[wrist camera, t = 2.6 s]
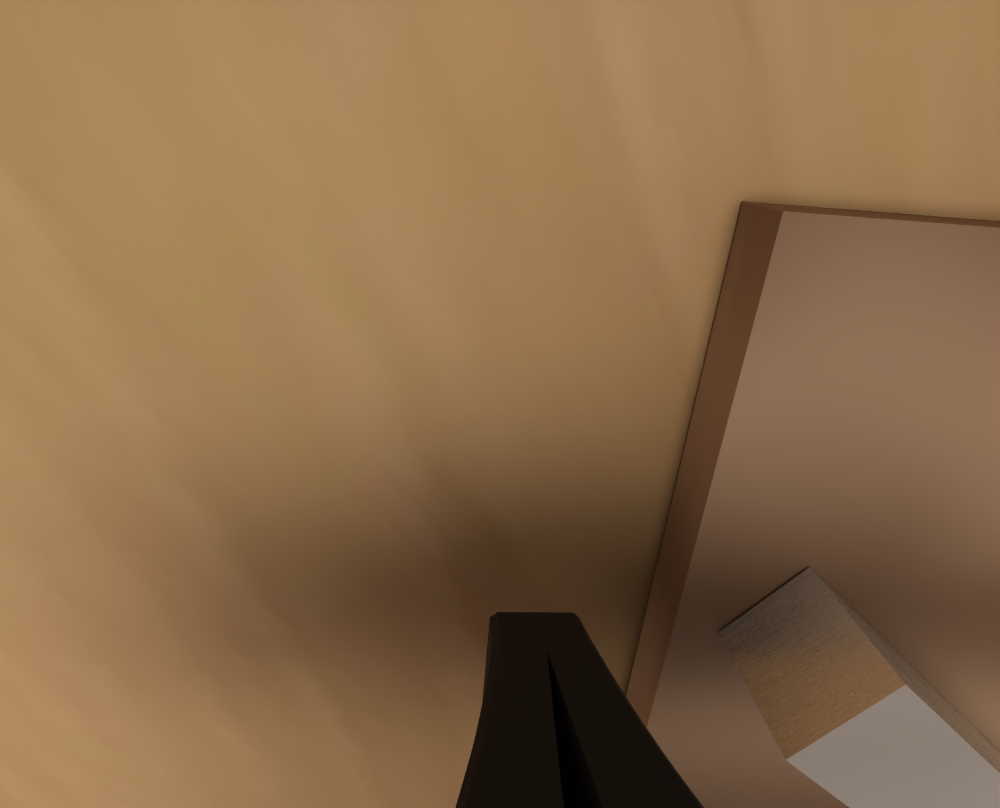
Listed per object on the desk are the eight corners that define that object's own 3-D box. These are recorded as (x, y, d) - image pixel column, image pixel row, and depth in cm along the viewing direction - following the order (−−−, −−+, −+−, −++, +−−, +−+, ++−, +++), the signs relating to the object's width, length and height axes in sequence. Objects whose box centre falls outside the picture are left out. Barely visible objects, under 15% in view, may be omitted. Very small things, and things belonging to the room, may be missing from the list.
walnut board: (958, 810, 16) (1070, 961, 13) (596, 821, 15) (630, 986, 12) (1319, 246, 10) (1688, 293, 7) (741, 201, 9) (885, 235, 6)
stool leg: (1029, 781, 13) (1153, 920, 11) (951, 824, 14) (1052, 965, 12) (809, 566, 10) (916, 697, 8) (718, 632, 11) (792, 773, 8)
